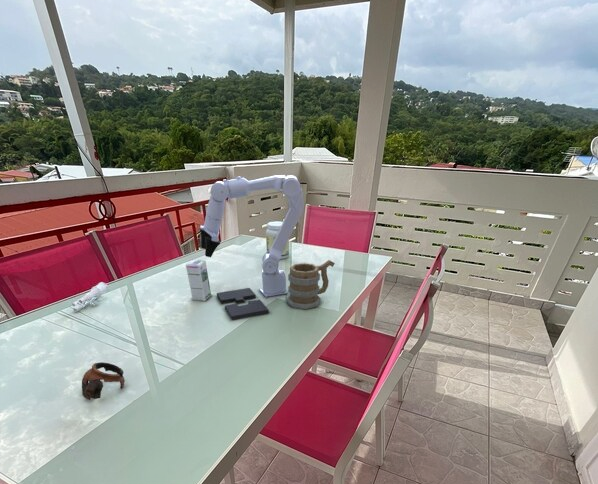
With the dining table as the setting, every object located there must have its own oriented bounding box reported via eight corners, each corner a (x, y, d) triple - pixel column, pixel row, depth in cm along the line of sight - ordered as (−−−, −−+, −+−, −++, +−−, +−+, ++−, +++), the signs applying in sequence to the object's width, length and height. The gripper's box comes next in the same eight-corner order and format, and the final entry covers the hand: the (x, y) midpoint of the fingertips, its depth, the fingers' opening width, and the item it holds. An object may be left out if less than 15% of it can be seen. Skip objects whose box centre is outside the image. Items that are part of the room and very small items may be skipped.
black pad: (249, 291, 140) (249, 287, 139) (257, 300, 133) (257, 296, 132) (217, 296, 135) (216, 292, 134) (223, 306, 128) (222, 302, 127)
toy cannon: (81, 316, 123) (67, 306, 121) (103, 301, 134) (91, 292, 132) (89, 303, 119) (76, 293, 117) (112, 288, 130) (100, 279, 129)
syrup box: (205, 301, 131) (199, 265, 123) (191, 299, 132) (185, 263, 124) (211, 295, 136) (206, 260, 127) (198, 294, 137) (192, 259, 128)
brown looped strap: (86, 384, 88) (94, 356, 86) (123, 394, 91) (132, 368, 89) (66, 404, 77) (75, 373, 75) (110, 415, 80) (119, 385, 78)
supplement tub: (266, 253, 184) (265, 221, 174) (288, 252, 185) (288, 220, 176) (267, 260, 174) (265, 226, 164) (290, 259, 175) (290, 226, 166)
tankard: (296, 311, 125) (297, 272, 116) (282, 299, 134) (281, 262, 125) (340, 301, 132) (344, 264, 124) (324, 290, 142) (326, 255, 133)
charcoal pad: (259, 302, 131) (259, 299, 130) (268, 313, 123) (268, 309, 122) (225, 308, 126) (224, 305, 125) (232, 320, 118) (231, 316, 118)
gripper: (199, 207, 124) (192, 242, 131) (207, 221, 114) (199, 258, 121) (217, 213, 127) (209, 246, 134) (227, 226, 118) (218, 261, 125)
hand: (205, 252), depth 128 cm, fingers open, 7 cm apart
